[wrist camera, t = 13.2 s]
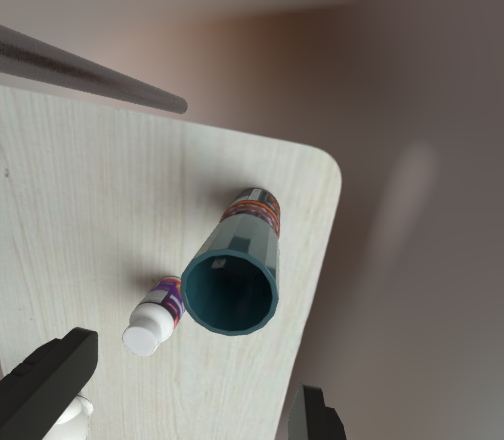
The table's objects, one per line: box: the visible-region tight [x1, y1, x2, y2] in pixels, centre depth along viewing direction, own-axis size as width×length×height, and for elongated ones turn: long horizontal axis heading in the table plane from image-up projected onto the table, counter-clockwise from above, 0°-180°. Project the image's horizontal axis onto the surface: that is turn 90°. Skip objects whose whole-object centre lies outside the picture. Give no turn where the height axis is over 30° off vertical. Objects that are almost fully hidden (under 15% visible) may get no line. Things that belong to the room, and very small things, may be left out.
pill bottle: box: [122, 277, 185, 356], centre depth 33 cm, size 5×5×10 cm
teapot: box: [42, 396, 93, 440], centre depth 43 cm, size 10×20×9 cm, turn 161°
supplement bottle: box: [219, 188, 280, 239], centre depth 27 cm, size 6×6×11 cm
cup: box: [180, 214, 280, 336], centre depth 18 cm, size 6×6×7 cm
